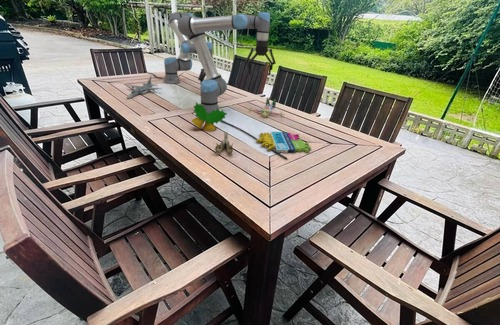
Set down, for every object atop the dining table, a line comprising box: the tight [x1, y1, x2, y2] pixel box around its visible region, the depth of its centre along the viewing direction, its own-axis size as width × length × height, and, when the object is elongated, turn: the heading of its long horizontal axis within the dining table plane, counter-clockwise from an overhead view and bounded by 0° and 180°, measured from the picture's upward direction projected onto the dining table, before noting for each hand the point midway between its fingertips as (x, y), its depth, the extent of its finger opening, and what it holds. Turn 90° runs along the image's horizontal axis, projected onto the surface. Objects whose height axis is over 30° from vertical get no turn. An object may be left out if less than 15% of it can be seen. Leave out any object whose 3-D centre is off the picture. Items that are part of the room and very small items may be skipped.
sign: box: [256, 131, 312, 154], centre depth 152 cm, size 26×2×30 cm
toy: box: [247, 97, 285, 118], centre depth 199 cm, size 28×7×30 cm
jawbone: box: [214, 131, 234, 156], centre depth 136 cm, size 9×15×10 cm
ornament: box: [191, 102, 228, 132], centre depth 162 cm, size 21×8×15 cm, turn 105°
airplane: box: [126, 75, 162, 99], centre depth 223 cm, size 38×31×10 cm
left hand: (208, 87), depth 229 cm, fingers open, 13 cm apart
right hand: (259, 74), depth 177 cm, fingers open, 13 cm apart
